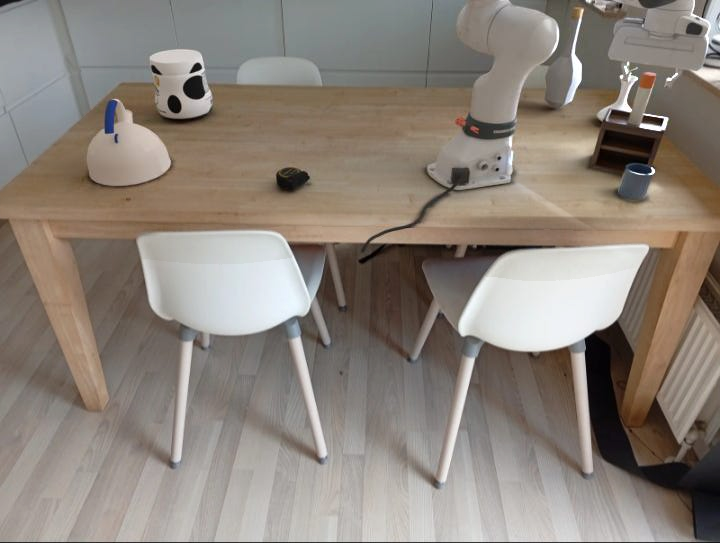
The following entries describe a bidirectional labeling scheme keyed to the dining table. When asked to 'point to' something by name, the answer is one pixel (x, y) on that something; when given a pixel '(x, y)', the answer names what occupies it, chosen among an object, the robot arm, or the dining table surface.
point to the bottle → (565, 68)
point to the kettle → (125, 151)
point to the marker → (642, 98)
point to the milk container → (180, 84)
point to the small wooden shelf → (627, 141)
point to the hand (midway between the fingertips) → (646, 83)
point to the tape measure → (291, 178)
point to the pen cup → (636, 181)
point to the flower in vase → (620, 96)
